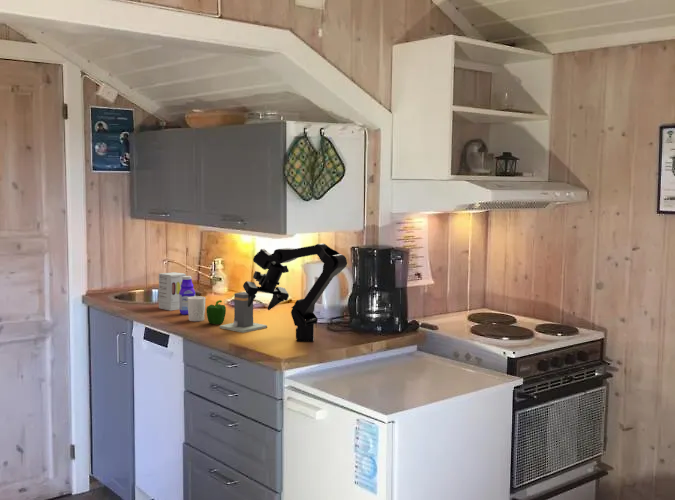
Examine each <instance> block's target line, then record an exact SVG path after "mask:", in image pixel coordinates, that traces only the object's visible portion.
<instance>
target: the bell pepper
mask: <svg viewBox="0 0 675 500" xmlns="http://www.w3.org/2000/svg"><path fill="white" fill-rule="evenodd" d="M222 302H223V301H222V300H221V299H219V300H217V301H216V302H215V305H214V304H209V305H207V307H206V316H207V317H206V318H207V322H208V323H209V324H212V325H222V324H223V323H224V321H225V318H226V312H227V309H226V308H227V307H226V306H225V305H224V304H222Z"/></svg>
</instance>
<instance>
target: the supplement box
mask: <svg viewBox="0 0 675 500" xmlns="http://www.w3.org/2000/svg"><path fill="white" fill-rule="evenodd" d="M183 276H187V274H186V273H183V272H175V271H172V272H162V273H158V309H161V310H165V311H169V312H171V311H177V310H180V309H179V292H180V290H181V284H182V277H183Z"/></svg>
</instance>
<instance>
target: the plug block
mask: <svg viewBox="0 0 675 500" xmlns="http://www.w3.org/2000/svg"><path fill="white" fill-rule="evenodd" d="M233 301H234V306H233V308H234V309H233V310H234V311H233V313H234V318H233V322H234V321H238V326H240V327H247V326H252V325H253V323H254V301H253V302H252V304H251V305H250V307H248V294H247V293H246V291H242V292H236V293H234V297H233Z"/></svg>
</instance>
